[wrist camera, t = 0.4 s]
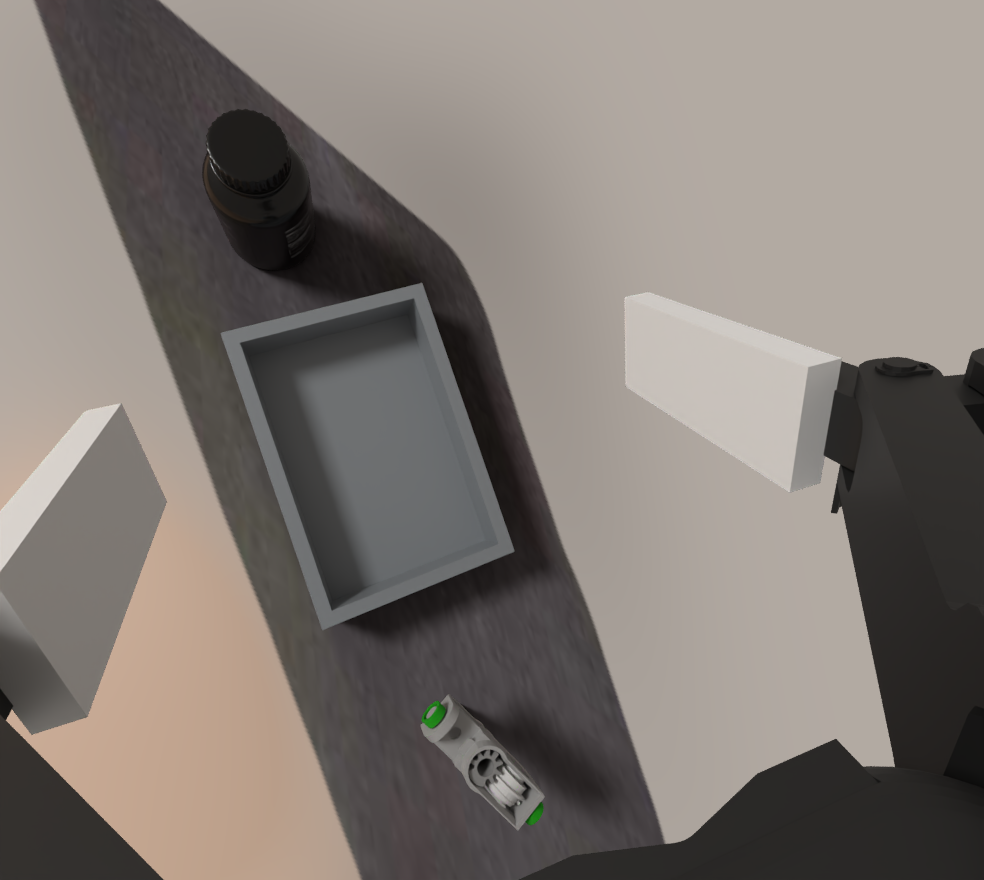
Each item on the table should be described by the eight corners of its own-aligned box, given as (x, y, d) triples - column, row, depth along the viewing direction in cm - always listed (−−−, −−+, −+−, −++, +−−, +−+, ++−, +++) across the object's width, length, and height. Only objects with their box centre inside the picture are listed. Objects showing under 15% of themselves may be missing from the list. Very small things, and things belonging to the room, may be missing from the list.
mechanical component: (425, 656, 46) (449, 698, 37) (510, 740, 47) (554, 802, 38) (399, 685, 45) (416, 736, 36) (486, 769, 47) (524, 840, 37)
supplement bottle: (295, 183, 47) (282, 81, 36) (328, 258, 47) (326, 182, 36) (211, 205, 45) (168, 105, 34) (246, 284, 45) (215, 212, 34)
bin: (497, 545, 49) (514, 551, 44) (323, 615, 44) (322, 630, 40) (413, 303, 49) (422, 282, 44) (233, 350, 45) (220, 332, 40)
